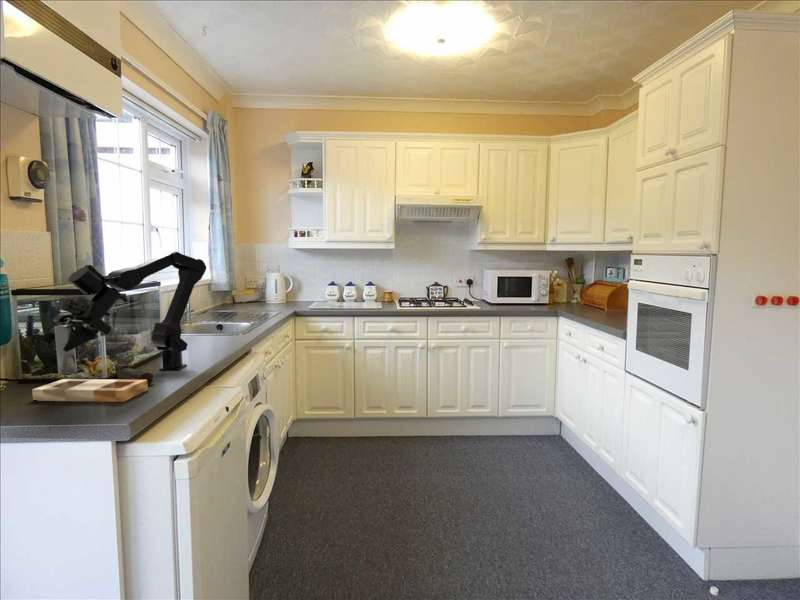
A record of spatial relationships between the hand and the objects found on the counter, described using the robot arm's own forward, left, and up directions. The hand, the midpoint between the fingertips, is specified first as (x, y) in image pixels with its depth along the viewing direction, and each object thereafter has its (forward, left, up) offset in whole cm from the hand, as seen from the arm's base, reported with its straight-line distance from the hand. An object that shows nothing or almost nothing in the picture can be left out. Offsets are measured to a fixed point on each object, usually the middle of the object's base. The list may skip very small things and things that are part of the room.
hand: (60, 350), depth 117 cm
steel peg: (-1, +1, -7) cm, 7 cm away
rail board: (-1, +7, -13) cm, 15 cm away
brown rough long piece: (-15, +8, -13) cm, 22 cm away
